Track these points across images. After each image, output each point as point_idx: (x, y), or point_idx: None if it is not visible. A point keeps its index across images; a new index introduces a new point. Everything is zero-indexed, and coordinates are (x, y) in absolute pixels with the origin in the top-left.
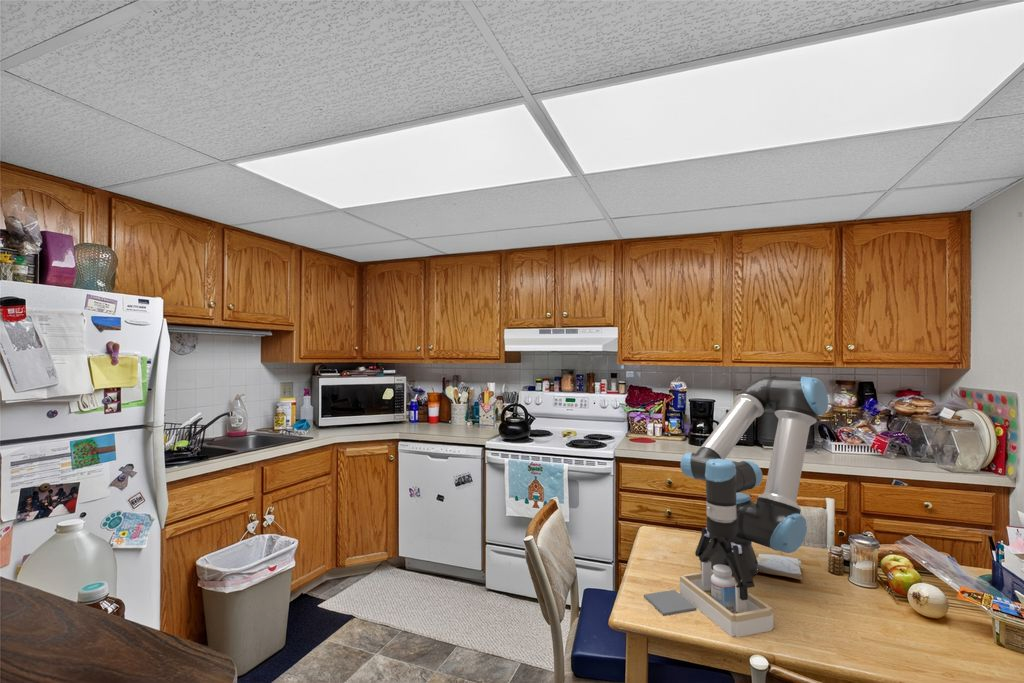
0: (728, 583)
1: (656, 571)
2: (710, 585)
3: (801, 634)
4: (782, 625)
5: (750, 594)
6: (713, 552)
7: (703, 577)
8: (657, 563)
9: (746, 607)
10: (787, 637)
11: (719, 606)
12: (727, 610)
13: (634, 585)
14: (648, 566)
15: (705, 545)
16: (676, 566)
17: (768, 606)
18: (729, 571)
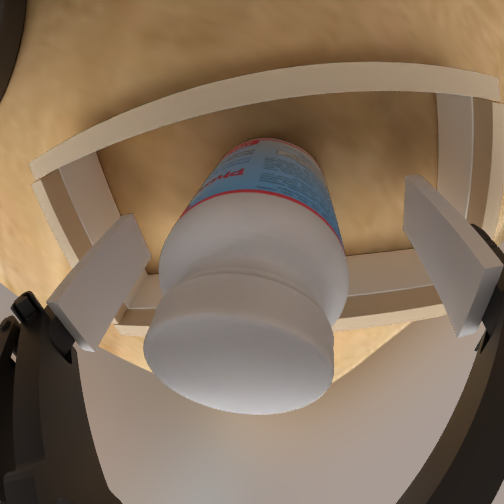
0: (344, 301)
1: (43, 283)
2: (135, 221)
3: (477, 8)
4: (423, 15)
5: (332, 74)
6: (55, 417)
7: (131, 288)
8: (9, 261)
9: (426, 183)
10: (490, 72)
11: (397, 322)
12: (434, 308)
13: (129, 356)
14: (30, 288)
15: (8, 417)
16: (2, 220)
17: (481, 81)
18: (328, 364)
